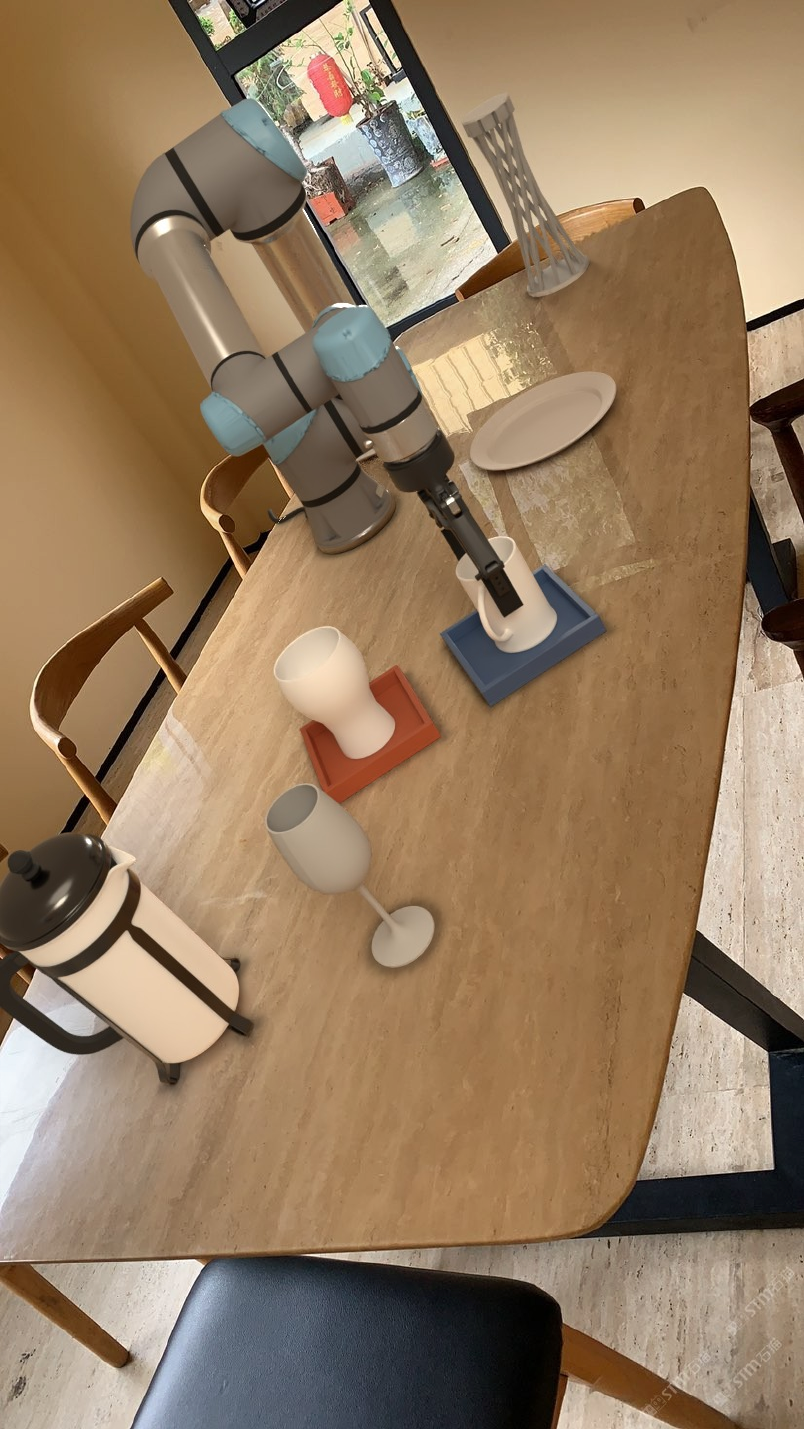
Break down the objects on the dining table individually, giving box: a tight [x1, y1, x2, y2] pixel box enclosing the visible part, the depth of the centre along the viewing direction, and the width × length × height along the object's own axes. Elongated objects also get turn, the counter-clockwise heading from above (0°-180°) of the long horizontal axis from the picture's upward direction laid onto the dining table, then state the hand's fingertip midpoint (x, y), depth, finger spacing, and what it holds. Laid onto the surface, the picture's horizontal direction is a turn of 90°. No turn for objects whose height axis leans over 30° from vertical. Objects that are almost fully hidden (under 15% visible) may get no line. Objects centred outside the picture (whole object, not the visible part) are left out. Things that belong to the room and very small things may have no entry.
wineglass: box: [264, 782, 436, 969], centre depth 100 cm, size 8×8×21 cm
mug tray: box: [439, 563, 607, 708], centre depth 131 cm, size 17×17×2 cm
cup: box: [272, 625, 395, 759], centre depth 128 cm, size 11×11×15 cm
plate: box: [469, 371, 617, 471], centre depth 169 cm, size 26×26×2 cm
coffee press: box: [0, 831, 255, 1086], centre depth 103 cm, size 17×16×30 cm
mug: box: [455, 535, 557, 653], centre depth 128 cm, size 12×8×12 cm
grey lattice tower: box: [461, 92, 591, 298], centre depth 204 cm, size 14×13×35 cm
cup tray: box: [299, 664, 442, 805], centre depth 132 cm, size 16×16×2 cm
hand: (492, 586), depth 127 cm, fingers open, 13 cm apart
